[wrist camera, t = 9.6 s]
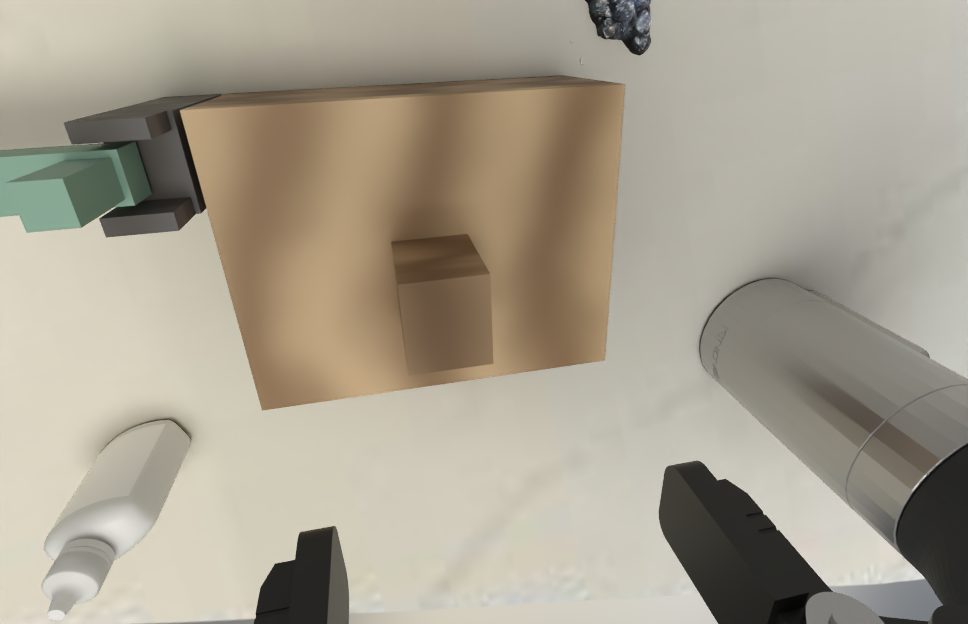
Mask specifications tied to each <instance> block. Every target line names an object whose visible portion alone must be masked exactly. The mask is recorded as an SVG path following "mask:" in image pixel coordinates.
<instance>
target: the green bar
mask: <svg viewBox="0 0 968 624" xmlns="http://www.w3.org/2000/svg"><path fill="white" fill-rule="evenodd" d="M151 194H152V192H151V189H150V186H149V183H148V180H147V177H146V173H145V170H144V167H143V164H142V161H141V158H140V155H139V151H138V148H137V145H136V142H120V143H105V144H89V145H74V146H59V147H44V148H29V149H14V150H0V217H4V216H15V215H19V216H20V218H21V221H22V223H23V225H24V227H25V230H26V232H38V231H50V230H61V229H72V228H82V227H83V226H85V225H86V224H88V223H89V222H91V221H93V220H94V219H96V218H97V217H99V216H100V215H102V214H103V213H105V212H107V211H108V210H110V209H111V208H113V207H123V206H135V205H136V204H138V203H139V202H141V201H142V200H144V199H145V198H147V197H148V196H149V195H151Z"/></svg>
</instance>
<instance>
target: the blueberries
mask: <svg viewBox="0 0 968 624" xmlns="http://www.w3.org/2000/svg"><path fill="white" fill-rule="evenodd" d="M585 1H586V2H587V3H588V6H589V14H590V17H591V19H592V21H593V22H594V24H595V25H596V29H597V34H598V36H601V37H602V38H604V39H613V40H615V39H617V40H622V41H623V42H624V44H625V45H626V47H627V48H628V49H629V50H630V52H631V53H633V54H636V55H641V54H643V53H644V52H645V51H646V50H647V49H648V47H649V45H650V43H651V38H650V34H649V30H650V26H651V22H652V19H651V16H650V6H649V5H650V3H651V0H585ZM570 43H573V42H571V41H570ZM580 59H581V58H580ZM580 62H581V64H583V63H582V61H581V60H580Z"/></svg>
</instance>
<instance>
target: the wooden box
mask: <svg viewBox="0 0 968 624" xmlns="http://www.w3.org/2000/svg"><path fill="white" fill-rule="evenodd" d="M601 83H612V82H605V81H598V80H591V79H583V78H576V77H569V76H546V77H528V78H510V79H491V80H473V81H454V82H436V83H417V84H399V85H381V86H362V87H344V88H325V89H307V90H288V91H270V92H251V93H233V94H225V95H222V96H221V94H215V95H196V96H178V97H163V98H159V99H155V100H151V101H147V102H143V103H139V104H136V105H132V106H128V107H124V108H120V109H116V110H112V111H108V112H104V113H100V114H96V115H92V116H88V117H84V118H80V119H76V120H72V121H68V122H64V125H65V127H66V130H67V133H68V136H69V138H70V141H71V144H84V143H100V142H103V143H104V144H105V143H120V142H136V145H137V148H138V151H139V155H140V158H141V161H142V164H143V167H144V170H145V173H146V177H147V180H148V183H149V186H150V189H151V192H152V194H151V195H149V196H148V197H147V198H145V199H144V200H142V201H141V202H139V203H138V204H136V205H135V206H123V207H116V208H115V209H113V210H112V211H110V212H109V213H107V214H106V215H104V216H103V217H101V218H100V222H101V225H102V228H103V230H104V233H105V236H106V237H115V236H126V235H136V234H147V233H158V232H169V231H179V230H180V229H181V228H182V227H183V226H184V225H185V224H186V223H187V222H188V221H189V220H190V219H191V218H192V217H193V216H194V215H195V214H200V213H202V212H203V211H204V210H205V209H206V204H205V200H204V197H203V193H202V189H201V186H200V182H199V179H198V175H197V171H196V168H195V164H194V160H193V157H192V153H191V149H190V146H189V142H188V139H187V135H186V131H185V128H184V124H183V120H182V117H181V113H180V110H182V109H185V108H188V107H200V106H217V105H235V104H252V103H270V102H287V101H305V100H322V99H339V98H357V97H374V96H392V95H409V94H426V93H444V92H461V91H479V90H496V89H514V88H531V87H548V86H566V85H583V84H601Z"/></svg>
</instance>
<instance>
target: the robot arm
mask: <svg viewBox="0 0 968 624" xmlns="http://www.w3.org/2000/svg"><path fill="white" fill-rule="evenodd" d="M700 354H701V360H702V363H703V365H704V367H705V369H706V371H707V372H708V373H709V374H710V375H711V376H712V377H713V378H714V379H715V380H716V381H717V382H718V383H719V384H720V385H721V386H722V387H723V388H725V389H726V390H727V391H728V392H729V393H730V394H731V395H732V396H733V397H734V398H735V399H736V400H737V401H738V402H739V403H740V404H741V405H742V406H743V407H744V408H745V409H747V410H748V411H749V412H750V413H751V414H752V415H753V416H754V417H755V418H756V419H757V420H758V421H759V422H760V423H761V424H762V425H764V426H765V427H766V428H767V429H768V430H769V431H770V432H771V433H772V434H773V435H774V436H775V437H776V438H777V439H778V440H779V441H781V442H782V443H783V444H784V445H785V446H786V447H787V448H788V449H789V450H790V451H791V452H792V453H793V454H794V455H795V456H796V457H798V458H799V459H800V460H801V461H802V462H803V463H804V464H805V465H806V466H807V467H808V468H809V469H810V470H811V471H812V472H813V473H815V474H816V475H817V476H818V477H819V478H820V479H821V480H822V481H823V482H824V483H825V484H826V485H827V486H828V487H829V488H831V489H832V490H833V491H834V492H835V493H836V494H837V495H838V496H839V497H840V498H841V499H842V500H843V501H844V502H845V503H846V504H848V505H849V506H850V507H851V508H852V509H853V510H854V511H855V512H856V513H857V514H858V515H860V516H861V517H862V518H863V519H864V520H865V521H866V522H867V523H868V524H869V525H870V526H871V527H872V528H873V529H874V530H875V531H877V532H878V533H879V534H880V535H881V536H882V537H883V538H884V539H885V540H886V541H887V542H888V543H889V544H890V545H891V546H892V547H894V548H895V549H896V550H897V551H898V552H899V553H900V554H901V555H903V557H904V558H905V559H906V560H907V561H908V562H909V563H911V564H912V565H913V566H914V567H915V568H916V569H917V570H918V571H919V572H920V573H921V574H922V575H923V576H924V577H925V579H926V580H927V581H928V583H929V584H930V586H931V587H932V589H933V590H934V592H935V594H936V595H937V597H938V598H939V600H940V601H941V603H942V604H943V606H940V607H938V608H937V609H936V610H935V611H934V613H933V614H932V616H931V618H930V620H929V622H926V621H917V620H908V619H898V618H888V617H881V616H878V615H877V614H876V613H874V612H873V611H872V610H871V609H870V608H868V607H867V606H866V605H864V604H863V603H861V602H859V601H858V600H856V599H854V598H852V597H849V596H846V595H844V594H840V593H835V592H833V591H831V589H830V588H829V587H828V586H827V585H826V584H825V583H824V582H823V581H822V579H821V578H820V577H819V576H818V575H817V574H816V572H815V571H814V570H813V569H812V568H811V567H810V565H809V564H808V563H807V562H806V561H805V560H804V559H803V557H802V556H801V555H800V554H799V553H798V552H797V550H796V549H795V548H794V547H793V546H792V545H791V544H790V542H789V541H788V540H787V539H786V538H785V537H784V535H783V534H782V533H781V532H780V531H779V530H778V531H777V530H776V526H775V525H774V524H773V523H772V522H771V520H770V519H769V518H768V517H767V516H766V515H764V514H763V511H762V510H761V509H760V508H759V506H758V505H757V504H756V503H755V502H754V501H753V500H752V498H751V497H750V496H749V495H748V494H747V493H746V492H744V491H743V490H741V489H740V488H738V487H737V486H735V485H734V484H732V483H731V482H729V481H728V480H726V479H723V480H718V481H717V479H716V478H715V477H714V476H713V475H712V473H711V472H710V471H709V470H708V468H707V467H706V466H705V465H704V464H703V463H702V462H700V461H693V462H687V463H682V464H676V465H671V466H668V467H667V468H666V469H665V473H664V480H663V487H662V493H661V500H660V507H659V520H660V525H661V529H662V531H663V534H664V536H665V538H666V540H667V542H668V543H669V545H670V546H671V548H672V550H673V551H674V553H675V554H676V556H677V558H678V559H679V561H680V563H681V564H682V566H683V567H684V569H685V571H686V572H687V574H688V575H689V577H690V579H691V580H692V582H693V584H694V585H695V587H696V588H697V590H698V592H699V593H700V595H701V596H702V598H703V600H704V601H705V603H706V605H707V606H708V608H709V609H710V611H711V613H712V614H713V616H714V617H715V619H716V620H717V622H718V624H968V379H966V378H965V377H963V376H961V375H959V374H957V373H955V372H954V371H952V370H950V369H948V368H946V367H945V366H943V365H941V364H939V363H937V362H935V361H934V360H932V359H930V357H929V354H928V352H927V351H926V350H924V349H923V348H921V347H919V346H917V345H915V344H913V343H912V342H910V341H908V340H906V339H904V338H902V337H900V336H899V335H897V334H895V333H893V332H891V331H889V330H887V329H885V328H884V327H882V326H880V325H878V324H876V323H874V322H872V321H871V320H869V319H867V318H865V317H863V316H861V315H859V314H858V313H856V312H854V311H852V310H850V309H848V308H846V307H844V306H843V305H841V304H839V303H837V302H835V301H833V300H831V299H830V298H828V297H826V296H824V295H822V294H820V293H818V292H817V291H807V290H805V289H803V288H801V287H799V286H798V285H796V284H794V283H791V282H789V281H786V280H783V279H774V278H773V279H765V280H760V281H757V282H753V283H750V284H748V285H746V286H744V287H742V288H741V289H739V290H737V291H736V292H734V293H733V294H732V295H730V296H729V297H728V298H726V299H725V300H724V302H723V303H722V304H721V305H720V306H719V307H718V308H717V309H716V310H715V312H714V313H713V315H712V316H711V317H710V319H709V321H708V323H707V325H706V327H705V329H704V332H703V335H702V339H701V346H700ZM348 622H349V589H348V579H347V573H346V568H345V563H344V559H343V555H342V550H341V546H340V541H339V537H338V532H337V529H336V527H335V526H332V527H326V528H321V529H315V530H310V531H305V532H300V534H299V537H298V542H297V550H296V558H295V560H293V561H287V562H282V563H277V564H275V565H274V567H273V568H272V570H271V572H270V573H269V575H268V576H267V578H266V580H265V581H264V583H263V585H262V586H261V588H260V594H259V599H258V604H257V610H256V619H255V620H254V624H349V623H348Z"/></svg>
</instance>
